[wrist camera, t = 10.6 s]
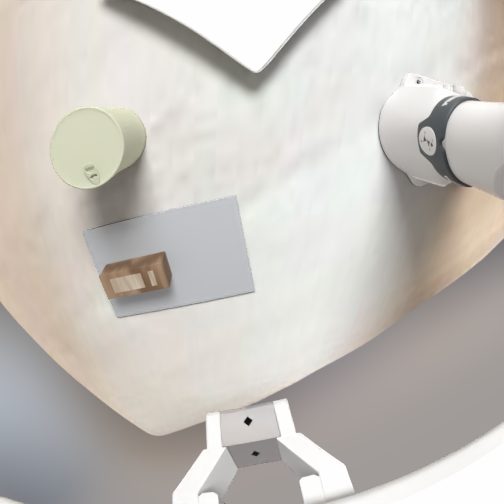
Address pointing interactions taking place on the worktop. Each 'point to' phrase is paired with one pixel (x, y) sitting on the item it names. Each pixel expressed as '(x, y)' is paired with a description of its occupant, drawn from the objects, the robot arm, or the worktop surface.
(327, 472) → the robot arm
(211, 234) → the grey mat
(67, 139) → the can
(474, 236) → the worktop surface
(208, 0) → the square plate
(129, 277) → the brown box
